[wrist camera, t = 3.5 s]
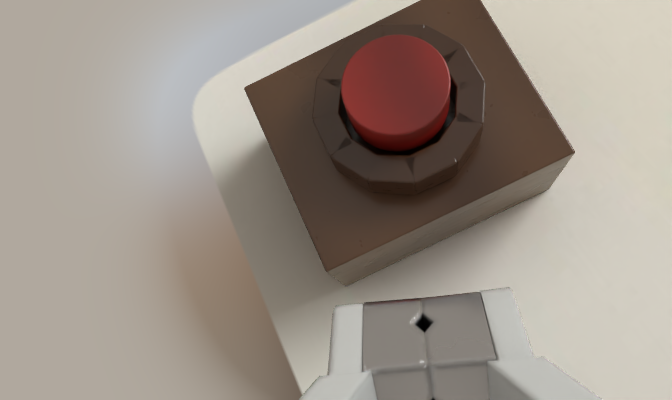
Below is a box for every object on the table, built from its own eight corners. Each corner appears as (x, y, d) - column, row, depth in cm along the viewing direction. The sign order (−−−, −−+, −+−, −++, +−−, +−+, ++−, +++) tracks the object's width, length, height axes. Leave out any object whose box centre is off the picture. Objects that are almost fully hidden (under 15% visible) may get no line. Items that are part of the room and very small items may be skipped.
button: (373, 169, 25) (368, 153, 23) (331, 85, 26) (323, 63, 24) (467, 123, 25) (470, 104, 23) (420, 41, 26) (419, 16, 24)
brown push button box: (345, 286, 32) (318, 265, 24) (274, 131, 35) (229, 68, 27) (549, 189, 31) (587, 135, 24) (460, 39, 34) (468, -51, 27)
